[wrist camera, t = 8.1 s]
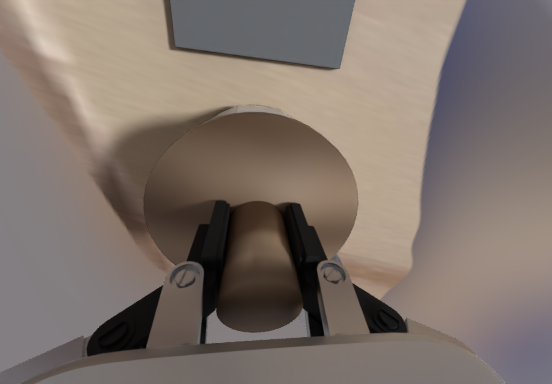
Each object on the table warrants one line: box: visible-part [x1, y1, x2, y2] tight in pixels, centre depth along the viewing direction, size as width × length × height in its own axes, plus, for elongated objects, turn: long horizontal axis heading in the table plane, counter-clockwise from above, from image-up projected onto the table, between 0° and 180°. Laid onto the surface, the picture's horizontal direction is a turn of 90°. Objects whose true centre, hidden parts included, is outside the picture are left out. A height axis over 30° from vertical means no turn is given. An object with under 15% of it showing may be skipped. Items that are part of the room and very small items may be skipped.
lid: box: [144, 112, 358, 333], centre depth 10 cm, size 12×12×6 cm
